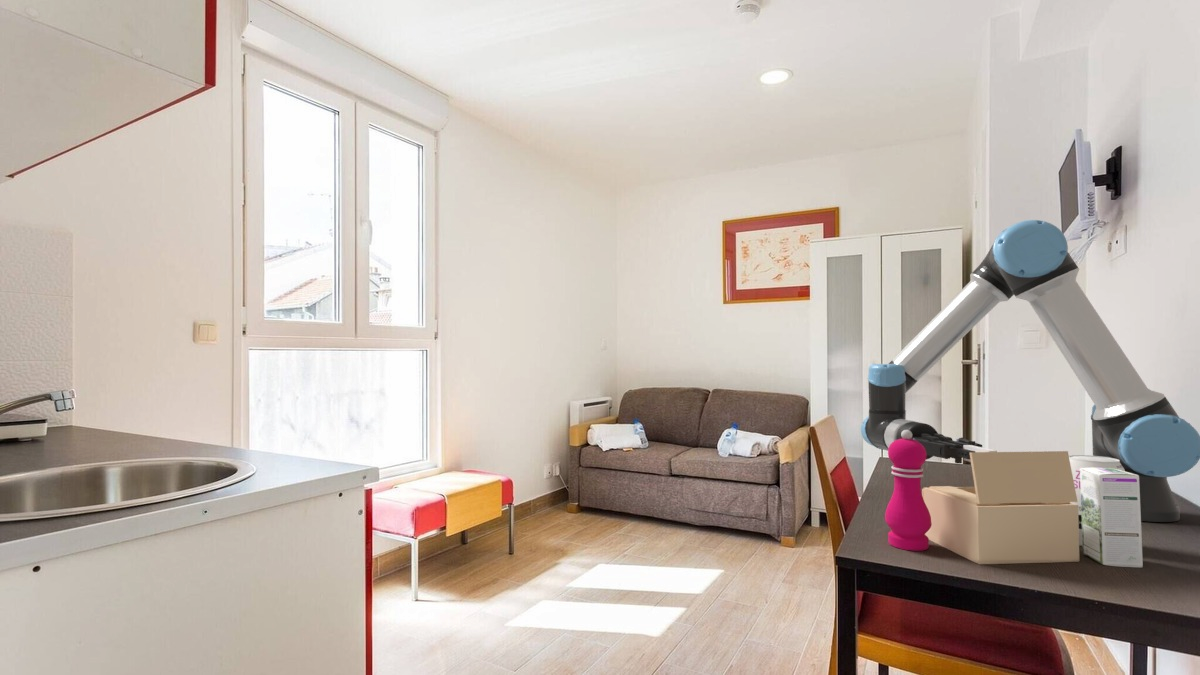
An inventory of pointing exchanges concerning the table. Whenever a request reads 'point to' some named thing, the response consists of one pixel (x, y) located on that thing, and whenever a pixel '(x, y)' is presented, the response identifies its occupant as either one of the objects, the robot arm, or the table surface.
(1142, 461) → the robot arm
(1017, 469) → the long flap
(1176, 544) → the table surface
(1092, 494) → the syrup box
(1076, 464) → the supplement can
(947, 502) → the carton
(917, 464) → the pepper mill
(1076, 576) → the table surface
